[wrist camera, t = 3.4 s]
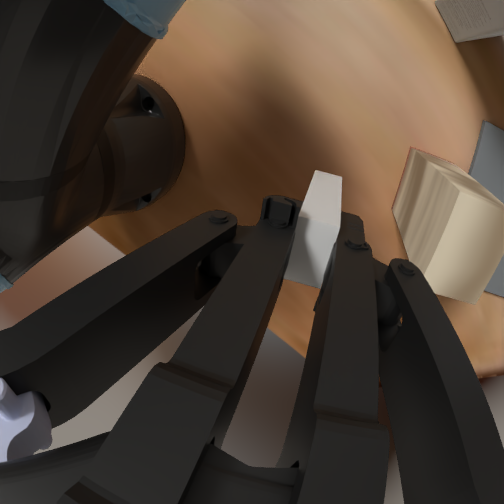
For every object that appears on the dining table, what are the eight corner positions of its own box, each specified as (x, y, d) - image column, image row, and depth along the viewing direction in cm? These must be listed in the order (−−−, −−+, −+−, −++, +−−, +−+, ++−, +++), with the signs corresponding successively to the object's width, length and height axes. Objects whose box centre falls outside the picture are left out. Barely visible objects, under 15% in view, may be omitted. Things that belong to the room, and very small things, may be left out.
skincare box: (480, -5, 11) (546, -41, 1) (502, 38, 13) (581, 25, 3) (430, 2, 14) (483, -47, 4) (454, 47, 16) (526, 26, 6)
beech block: (391, 208, 25) (417, 288, 15) (410, 146, 22) (459, 191, 12) (433, 222, 24) (474, 305, 14) (453, 163, 21) (519, 218, 11)
